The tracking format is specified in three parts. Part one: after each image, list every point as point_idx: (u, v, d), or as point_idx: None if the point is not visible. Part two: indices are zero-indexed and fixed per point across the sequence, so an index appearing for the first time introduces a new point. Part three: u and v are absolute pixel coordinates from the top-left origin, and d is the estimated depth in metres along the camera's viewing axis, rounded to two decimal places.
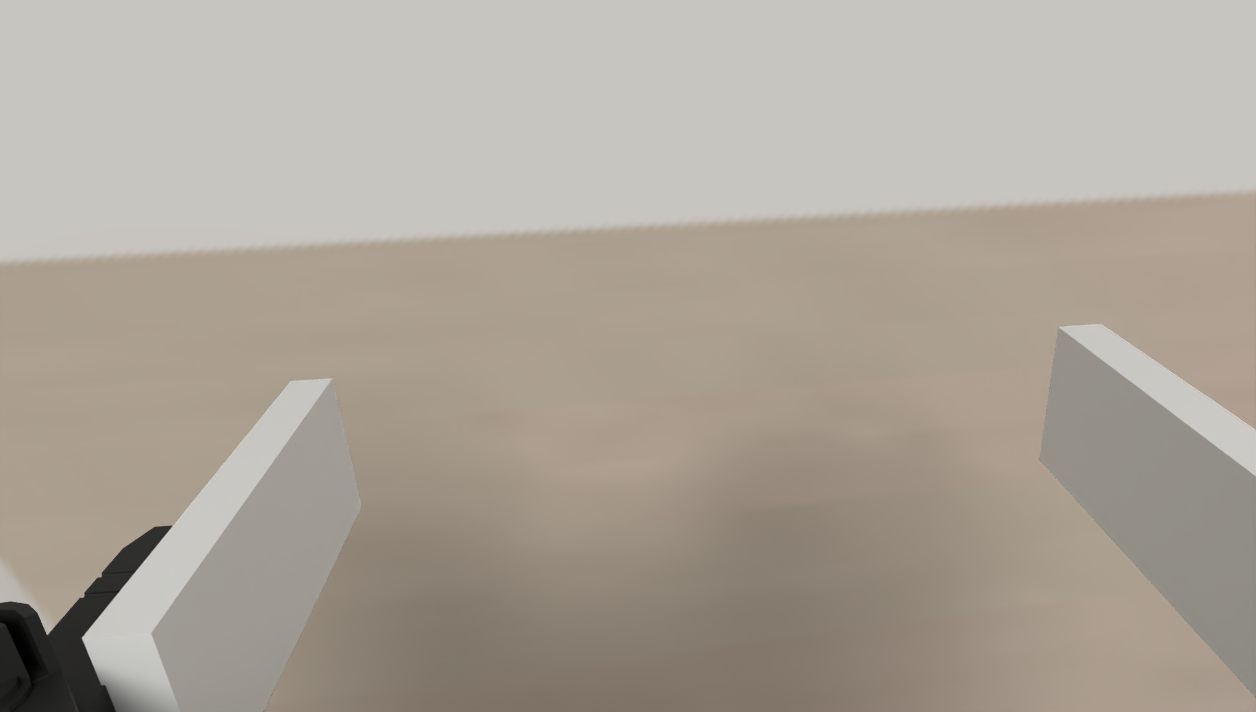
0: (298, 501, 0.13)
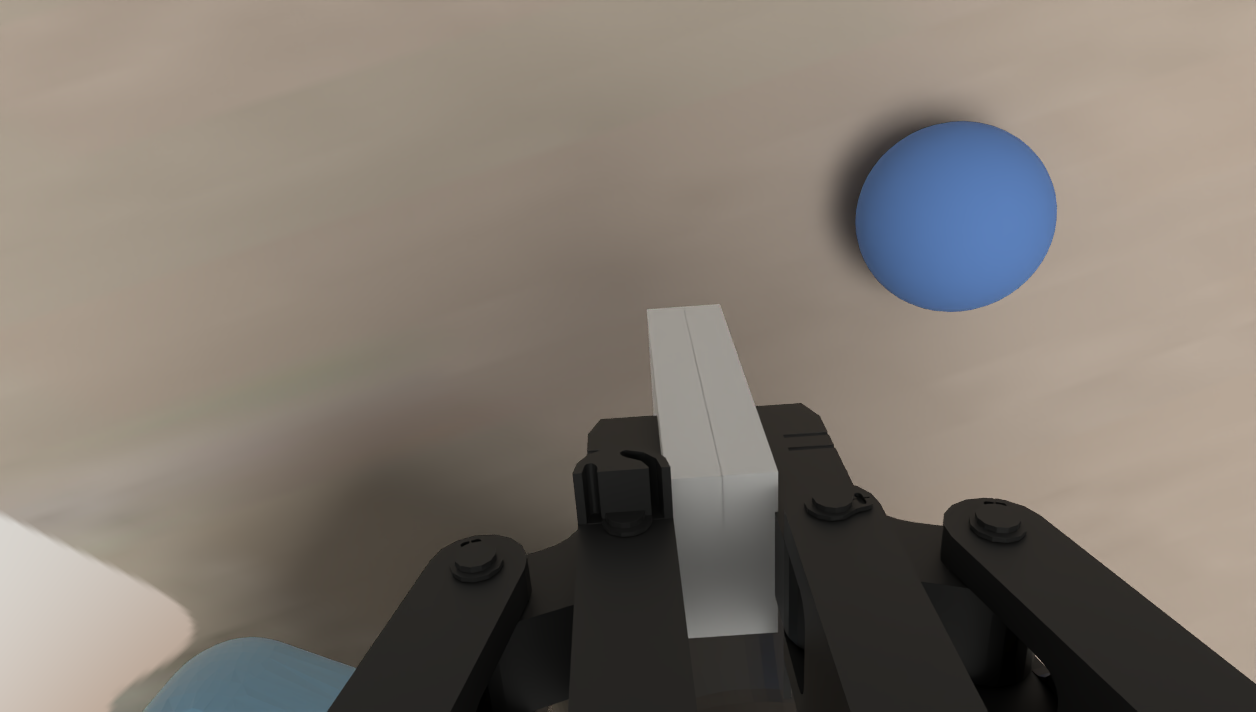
0: None
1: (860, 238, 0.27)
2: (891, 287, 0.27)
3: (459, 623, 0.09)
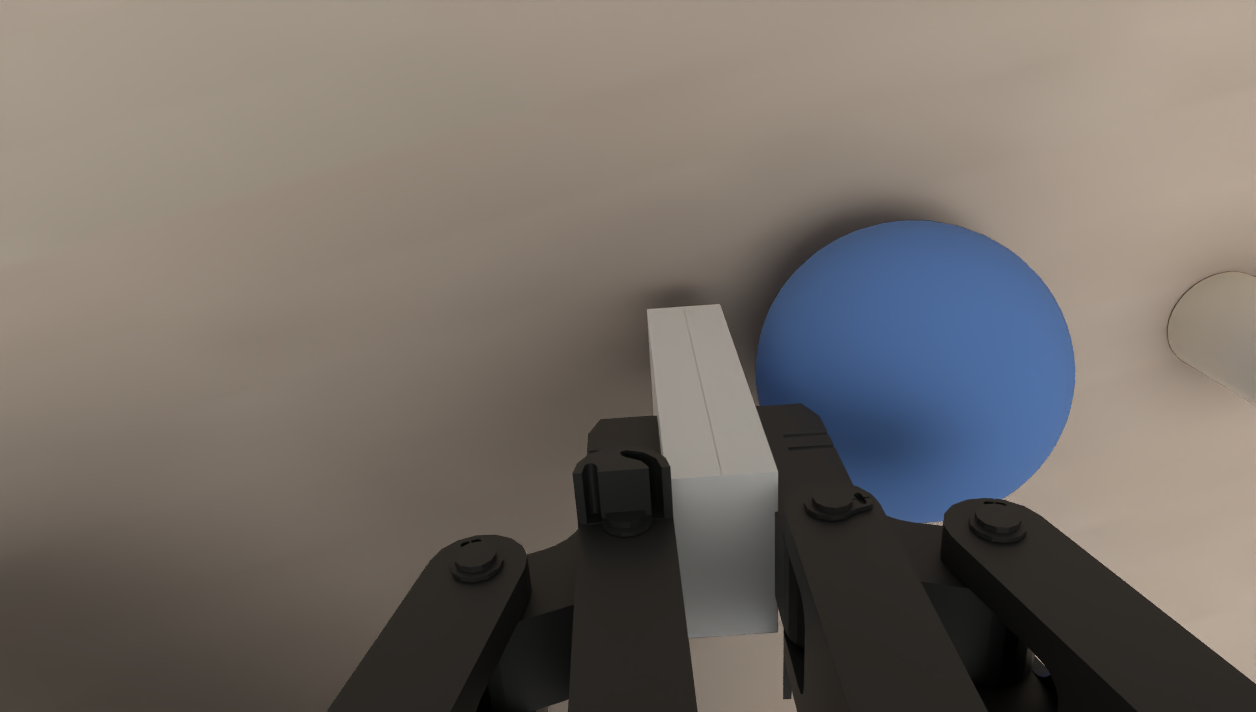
0: None
1: (1019, 442, 0.15)
2: None
3: (458, 623, 0.09)
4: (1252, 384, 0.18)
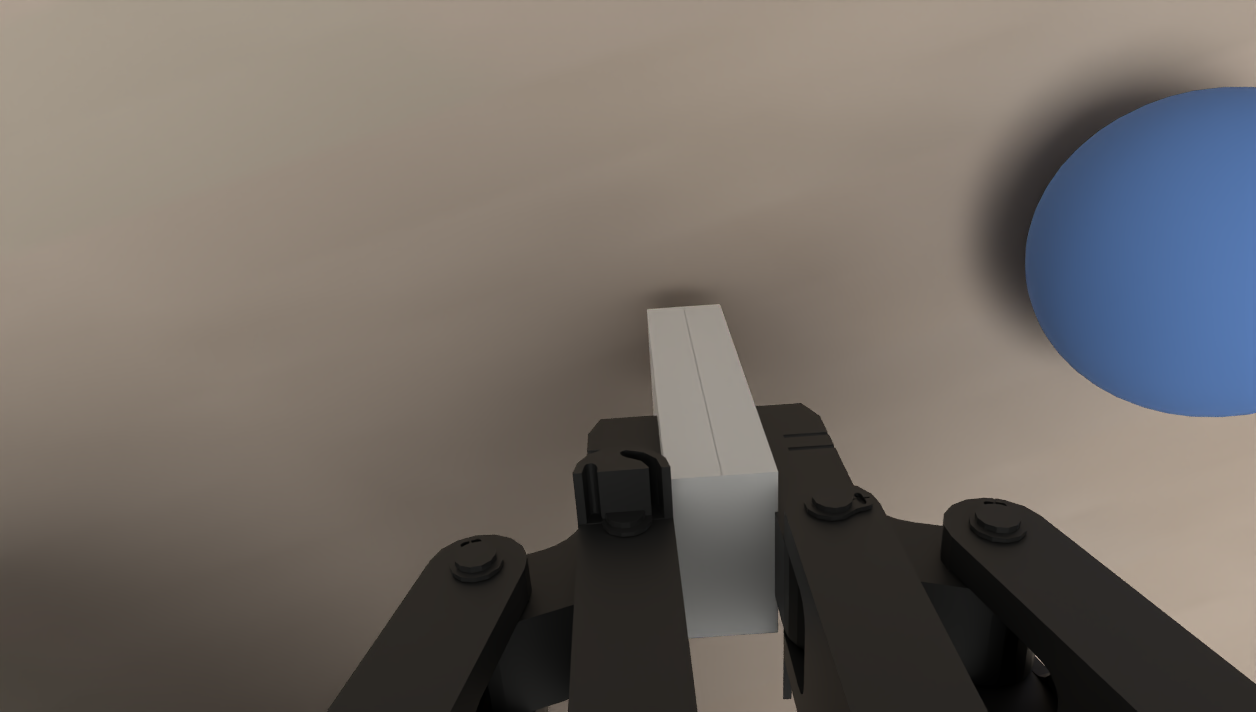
0: None
1: None
2: None
3: (459, 623, 0.09)
4: None
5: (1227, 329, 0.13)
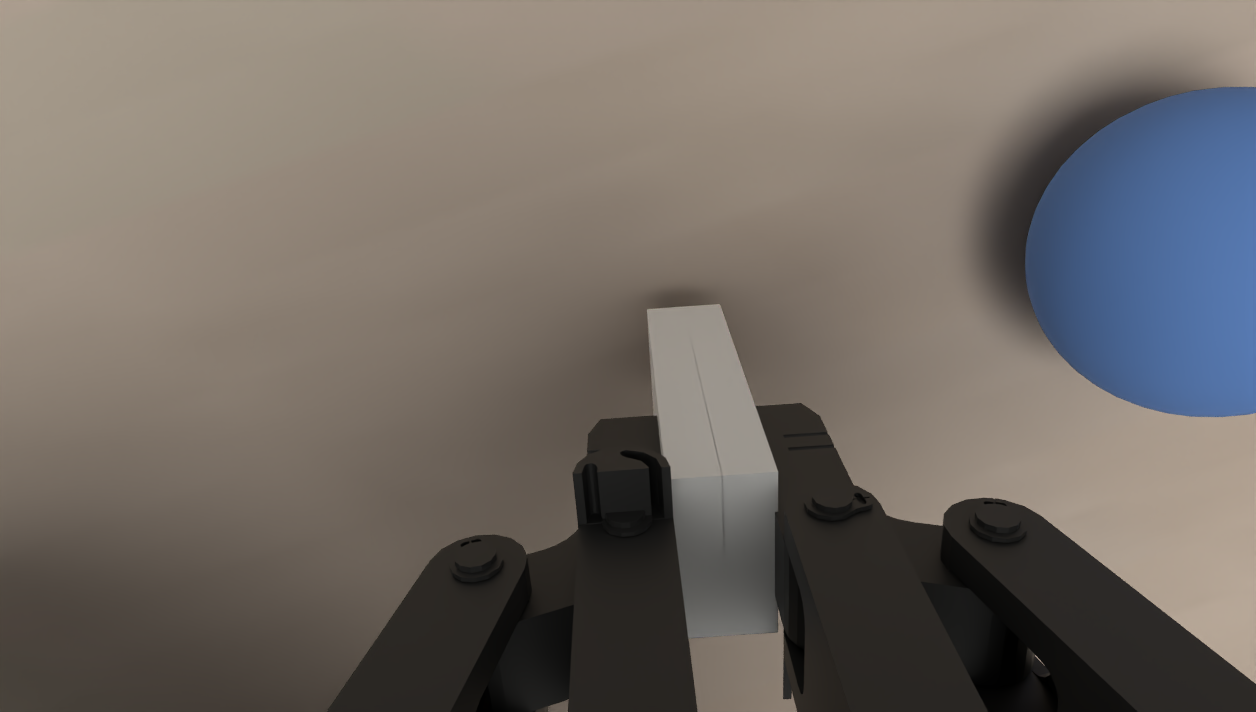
0: None
1: None
2: None
3: (459, 623, 0.09)
4: None
5: (1227, 329, 0.13)
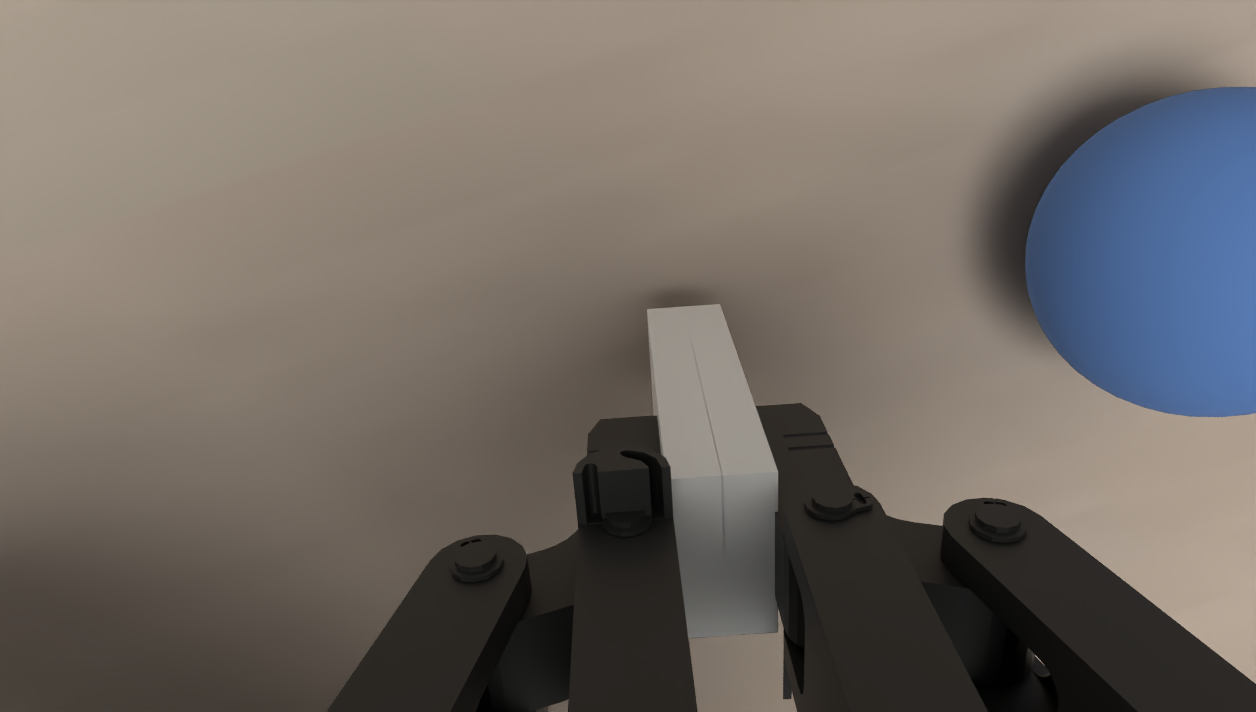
0: None
1: None
2: None
3: (459, 623, 0.09)
4: None
5: (1227, 329, 0.13)
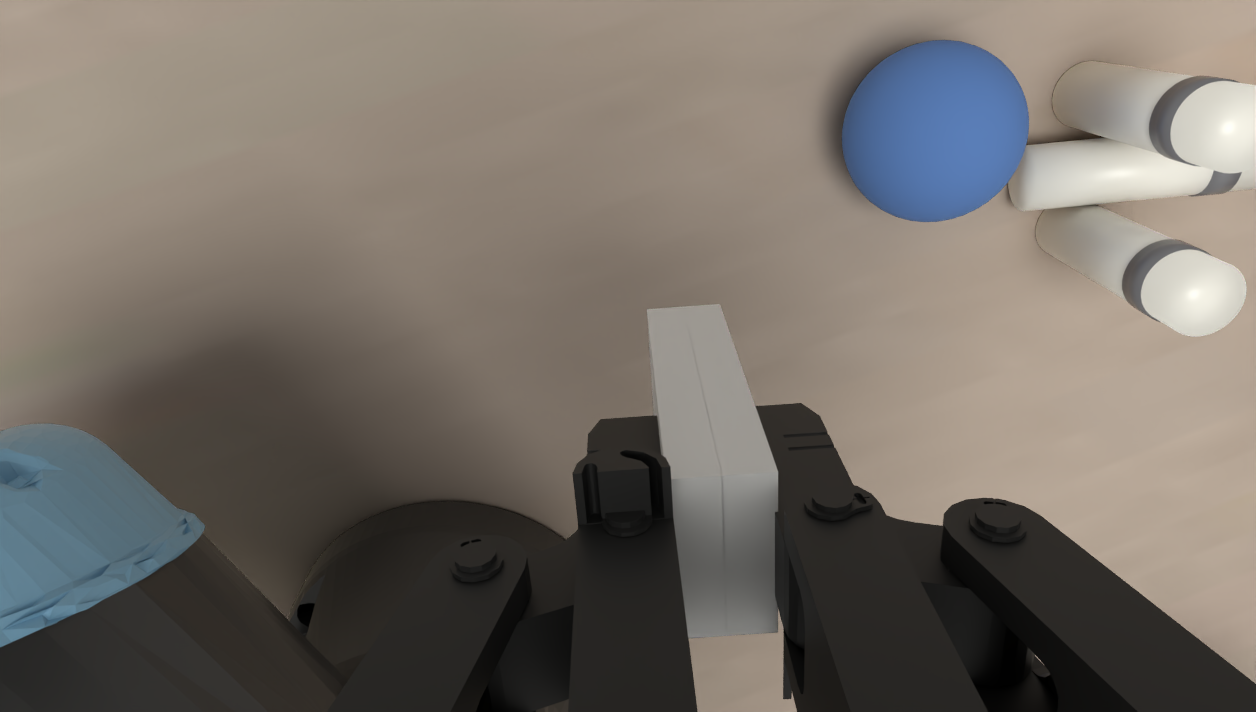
0: None
1: None
2: None
3: (459, 622, 0.09)
4: (1112, 188, 0.31)
5: (920, 159, 0.27)
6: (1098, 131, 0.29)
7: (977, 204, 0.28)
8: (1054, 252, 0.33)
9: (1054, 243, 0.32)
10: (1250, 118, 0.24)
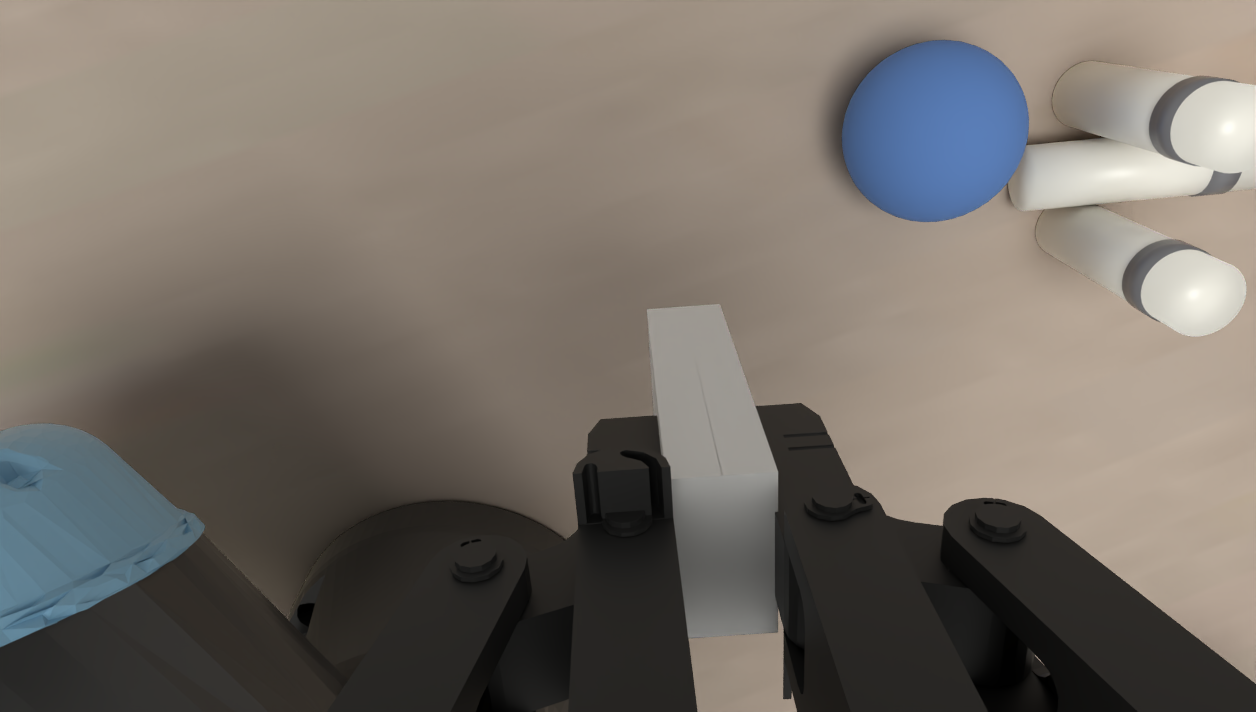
0: None
1: None
2: None
3: (459, 623, 0.09)
4: (1112, 188, 0.31)
5: (920, 159, 0.27)
6: (1098, 131, 0.29)
7: (977, 204, 0.28)
8: (1054, 252, 0.33)
9: (1054, 243, 0.32)
10: (1250, 118, 0.24)
